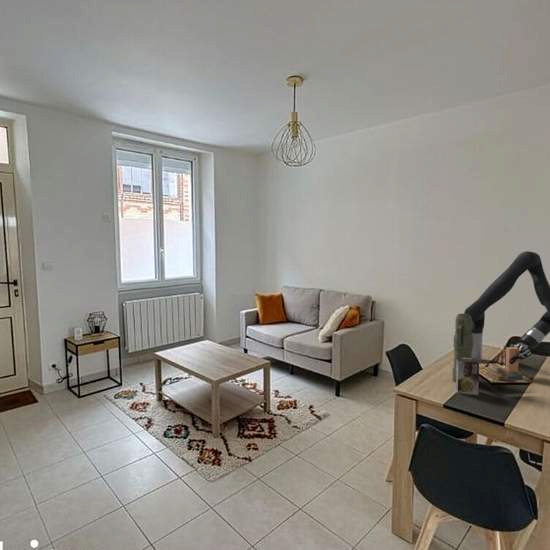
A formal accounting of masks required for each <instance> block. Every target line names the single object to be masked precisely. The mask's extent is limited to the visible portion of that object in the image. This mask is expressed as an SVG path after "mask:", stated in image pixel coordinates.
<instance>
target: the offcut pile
mask: <svg viewBox="0 0 550 550" xmlns="http://www.w3.org/2000/svg"><path fill="white" fill-rule="evenodd" d="M505 370H506V367H505V366H503V365H501V364H499V363H497V362H496V363H492V362H491V363H488V367H487V370H486V371H487V372H486V373H487V374H488V375H490V376H492V377H493V378H492V377H491V378H492V379H494V378H495V379H497V380H508V376H509V372H508V371H505ZM488 375H487V376H488ZM490 376H489V377H490ZM495 379H494V380H495ZM497 380H496V381H497Z"/></svg>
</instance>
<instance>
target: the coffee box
mask: <svg viewBox="0 0 550 550" xmlns="http://www.w3.org/2000/svg"><path fill="white" fill-rule="evenodd" d="M479 381H480V361H479V362H478V360H477V358H466V357H456V382H455V389H456V393H457V394H461V395H469V396H470V395H471V396H472V395H473V396H479V392H480V391H479V388H480V387H479V384H480V383H479Z"/></svg>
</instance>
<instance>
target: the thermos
mask: <svg viewBox="0 0 550 550" xmlns="http://www.w3.org/2000/svg"><path fill="white" fill-rule="evenodd" d="M455 317H456V318H455V322H454V323H455V324H454V325H455V327H454V329H455V332H454V335H453V349H454V355H453V357H454V359H453V367H452V381H453V382H454V383H456V357H466V358H472V349H473V337H472V318H471V316H470V315H469V314H464V313H458V314H457V315H456V316H455Z"/></svg>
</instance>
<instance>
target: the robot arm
mask: <svg viewBox="0 0 550 550" xmlns="http://www.w3.org/2000/svg"><path fill="white" fill-rule="evenodd" d="M526 271H528V273H529V274H530V275H529V276H531V279H532V282H533V288H534V292H535V294H536V296H537V300H538V301H539V304H540V305H541V306H542V307H543V306H544V308H545V309H546V310H547V311H546V312H545V313H543V315H542V316H541V317H540V318H539V320H538V321H537V322H536V323H535V324H534V325H533V326H532V327H531V328H529V329H528V330H527V331H525V333H524V334H523V335H522V336H520V338H519V339H518V342H517V343H516V344H513V343H511V344H510V345H509V347H517V348H519V350H518V351H517V352H516V354H515V355H514V356H515V357H514V356H513V357H512V358H511V359H510V360H509V363H510V364H513V363H514V362H516V361H517V360H518V361H519V360H520V361H523V360H524V359H526V358H528V357H531V356H533V354H532V352H531V351H532V350H534V349H535V348H536V347H537V346H538V345H539V344H540V343H542V341H543V340H544V339H545V338H546V337H547V335H549V333H550V284H549V281H548V279H547V276H546V273H545V270H544V266H543V263H542V259H541V256H540V254H538V253H536V252H534V251H529V250H527V251H522V252H520V253H519V254H518V255H517V256H516V258H515V259H514V260H513V262H511V264H510V265H509V266H508V267H507V269H506V270H504V271H503V272H502V273H501V274H500V275H499V276H498V277H497V278H496V279H495V280H494V281H493V282H492V283H491V284H489V286H488V287H487V288H486V289H485V290H484V291H483V293H482V294H481V295H480V296H479V297H478V298H477V299H476V300H475V301H474V302H473V303H471V304H470V305H469V306H467V307H466V308H465V310H464V313H463V314H469V315H470V316H471V318H472V337H473V349H472V358H477V360H478V362H479V363H480V362H482V361H483V360H482V359H483V335H484V332H483V331H484V327H485V319H486V318H485V316H486V315H485V313H486V311H487V310H488V309H489V308H490V307H491V306H493V305H494V304H496V303H497V302H498V301H500V300H501V299H503V298H504V297H505V296H506V295H507V294H508V293H509V292H510V291H511V290H512V289H513V287H514V286H515V284H516V283H517V281H518V279H519V278H520V277H521V276H522V275H523V274H524V273H525V272H526ZM504 361H505V362H506V357H505V359H504Z"/></svg>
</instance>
